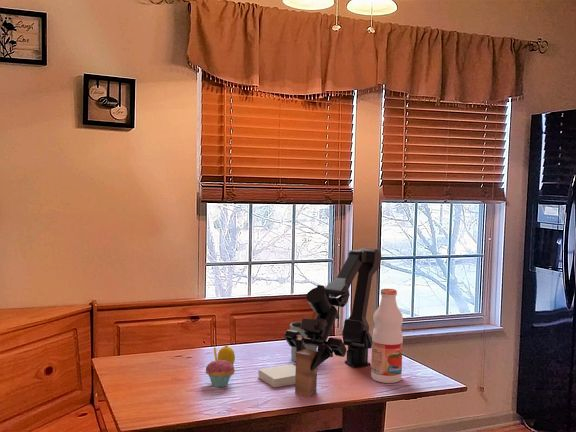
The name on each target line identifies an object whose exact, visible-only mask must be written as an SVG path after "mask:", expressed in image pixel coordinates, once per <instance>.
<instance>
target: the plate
mask: <svg viewBox="0 0 576 432" xmlns="http://www.w3.org/2000/svg"><path fill="white" fill-rule="evenodd" d="M295 373H296V365H294V364H292V363H291V364H284V365H278V366H273V367H267V368H261V369H258V378H259V379H260V380H262V381H263V382H265V383H267V384H268V385H270V386H271V387H272V388H279V387H283V386H285V387H286V386H290V385H295Z"/></svg>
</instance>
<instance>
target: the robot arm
mask: <svg viewBox="0 0 576 432" xmlns="http://www.w3.org/2000/svg"><path fill="white" fill-rule="evenodd" d="M381 261H382V253H381V252H380V251H379V249H378V248H366V247H365V248H364V247H360V248H359V249H351V250H349V251H348V255H347V258H346V260H345V262H344V264H343V266H342V267H341V269H340V270H339V272H338V273H337V275H336V278H335V279H333V280H331V281H330V282H329V283H328V284H327V285H326V286H324V285H321V284H317V286H316V287H313V288H312V289H310V290H309V291H308V292H307V294H306V300H307V303H308V304H309V305H310V307H311V309H312V310H313V312H314V313H316V315H315V318H306V317H302V319H301V321H302V322H301V326H300V329H303V330H305V332H304V333H305V335H307V337H303V336H301V334H300V333H299V331H294V330H290V329H287V330H286V331H285V332H284V335H283V338H284V339H285V341H286V342H287V344H288V346H290V347H295V348H296V352H298V351H300V350H303V349H306V348H305V346H306V344H308V345H313V346H317V353H316V355H315V358H314V360H313V362H312V364H311V368H310V369H311V370H312V371H313V370H314V369H315V368H316V367H317V368H318V367H319V366H320V365H321V364H323V363H324V362H325V361H326V360H328V359H330V358H333V357H334V356H336V357H342V358H344V357H345V356H346V360H344V363H345V364H347V365H350V366H352V367H354V368H360V367H365V366H371V362H369V360H368V359H369V349H372V334H371V333H370V325H369V323H368V320H367V311H368V306H369V300H370V293H371V287H372V282H373V281H372V280H373V276H374V274H375V273H376V272H377V271H378V269H379V267H380V263H381ZM357 274H358V275H357ZM356 275H357V277H356ZM355 277H356V285H355V290H354V291H355V292H354V297H353V304H352V309H351V314H350V316H349V317H348V318H345V319H344V322H343V327H342V328H343V329H342V331H341V335H342V338H337V337H331V336H332V334H333V331H332V330H333V329H332V328H333V326H334V324H335V321H336V320H339V319H340V314H339V311H338V308H336V307H339V308H343V307H346V305H347V304H348V302H349V298H350V290H349V289H350V287H351V285H352V283H353V281H354V279H355ZM330 335H331V336H330ZM329 336H330V337H329ZM346 346H347V347H346Z"/></svg>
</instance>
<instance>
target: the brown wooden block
mask: <svg viewBox="0 0 576 432" xmlns="http://www.w3.org/2000/svg"><path fill="white" fill-rule="evenodd" d="M317 351H318V350H317ZM317 351H312V350H307V349H303V350H300V351H298V352H296V362H295V366H296V373H295V384H294V394H296V395H299V396H304V397H308V398H309V397H312V395H314V394H316V393H317V388H318V387H317V386H318V384H317V382H318V379H317V378H318V366H317V367H316V368H315V369H314V370H313V371H312V370H311V369H310V368H311V364H312V362H313V360H314V358H315V355H316V353H317Z"/></svg>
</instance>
